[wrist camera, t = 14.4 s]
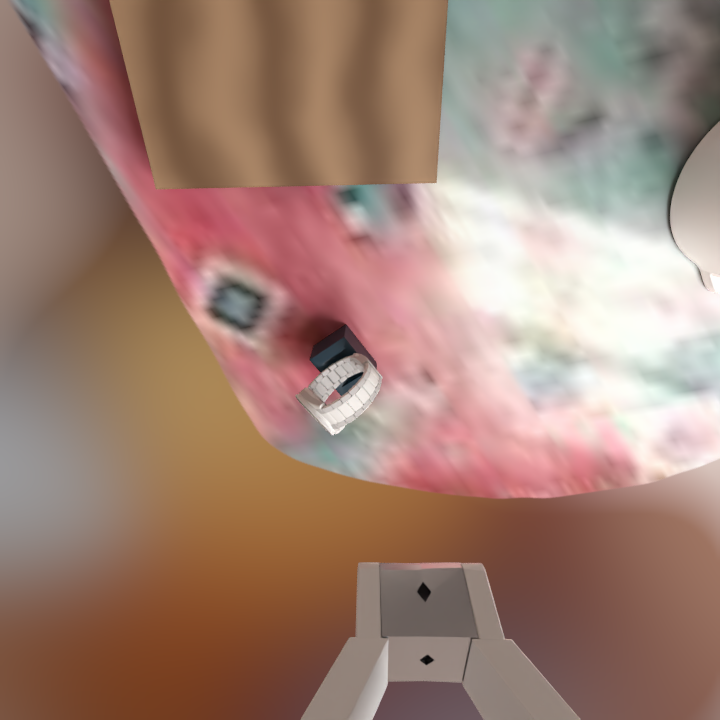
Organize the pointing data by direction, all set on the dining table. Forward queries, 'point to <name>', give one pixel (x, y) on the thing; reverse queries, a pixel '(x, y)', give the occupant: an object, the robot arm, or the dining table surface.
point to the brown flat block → (286, 90)
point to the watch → (340, 380)
